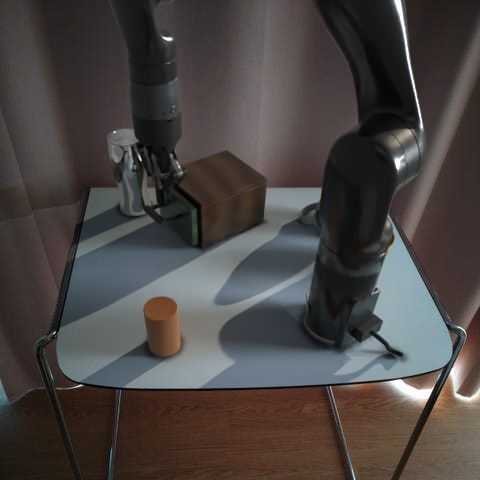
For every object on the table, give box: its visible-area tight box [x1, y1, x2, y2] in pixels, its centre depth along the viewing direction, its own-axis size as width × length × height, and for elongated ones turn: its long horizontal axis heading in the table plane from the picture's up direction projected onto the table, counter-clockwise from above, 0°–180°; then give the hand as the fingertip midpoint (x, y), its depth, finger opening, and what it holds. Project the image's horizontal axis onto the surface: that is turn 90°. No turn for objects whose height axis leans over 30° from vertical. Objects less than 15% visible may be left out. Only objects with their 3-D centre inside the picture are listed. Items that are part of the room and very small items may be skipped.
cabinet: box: [177, 149, 268, 249], centre depth 94 cm, size 15×13×10 cm
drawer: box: [144, 187, 200, 247], centre depth 92 cm, size 18×11×8 cm, turn 127°
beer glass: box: [106, 127, 152, 217], centre depth 94 cm, size 7×7×15 cm
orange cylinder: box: [142, 295, 181, 358], centre depth 72 cm, size 5×5×8 cm
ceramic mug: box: [299, 200, 322, 233], centre depth 95 cm, size 11×8×8 cm
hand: (164, 203), depth 87 cm, fingers closed
